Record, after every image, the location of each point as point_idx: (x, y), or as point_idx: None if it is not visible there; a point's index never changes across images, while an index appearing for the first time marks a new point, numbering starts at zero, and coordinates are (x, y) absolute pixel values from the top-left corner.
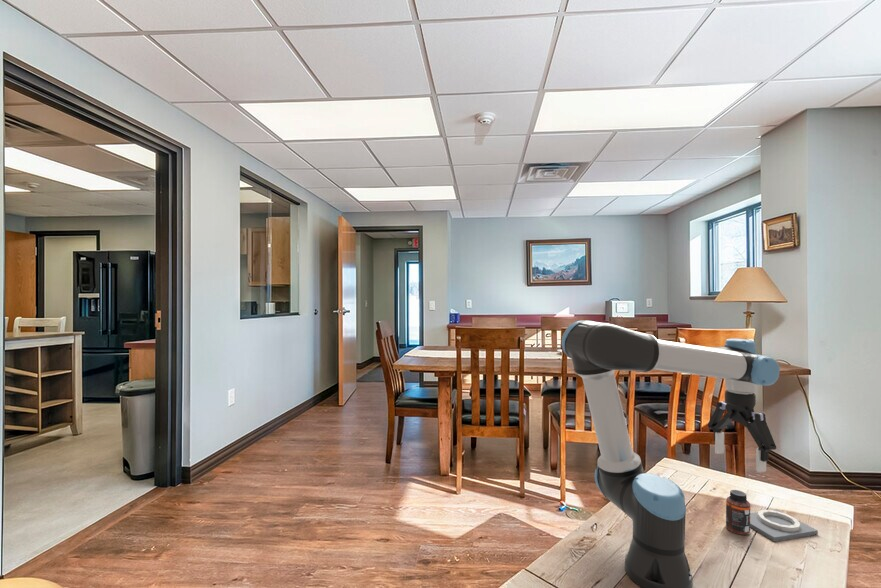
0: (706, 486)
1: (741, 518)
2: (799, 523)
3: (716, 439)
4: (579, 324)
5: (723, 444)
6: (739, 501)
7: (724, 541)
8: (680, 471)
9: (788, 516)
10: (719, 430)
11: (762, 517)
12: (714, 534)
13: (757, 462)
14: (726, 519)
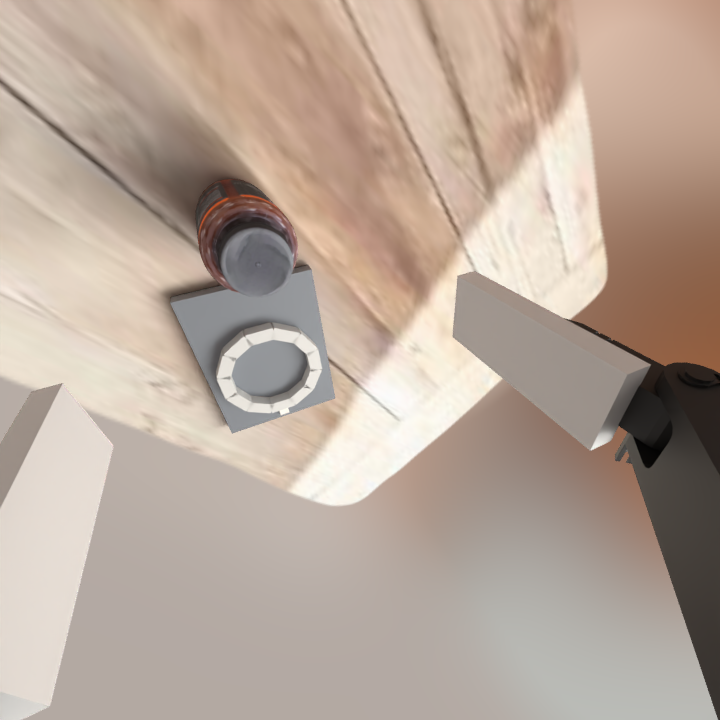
0: None
1: (198, 219)
2: (246, 409)
3: (561, 329)
4: None
5: (498, 367)
6: (221, 240)
7: (131, 82)
8: (559, 278)
9: (283, 402)
10: (643, 427)
11: (276, 333)
12: (191, 80)
13: (3, 462)
14: (251, 186)
